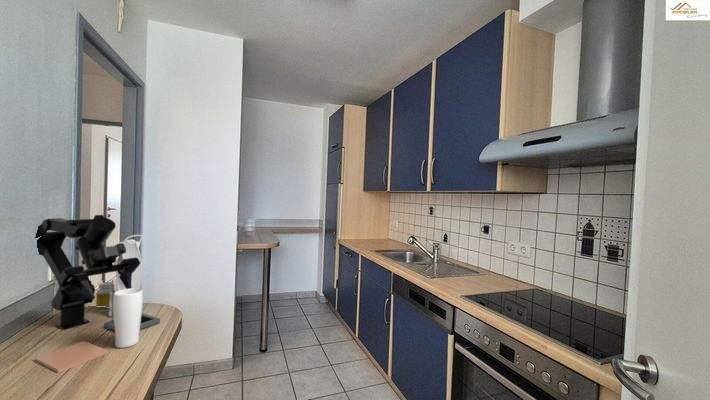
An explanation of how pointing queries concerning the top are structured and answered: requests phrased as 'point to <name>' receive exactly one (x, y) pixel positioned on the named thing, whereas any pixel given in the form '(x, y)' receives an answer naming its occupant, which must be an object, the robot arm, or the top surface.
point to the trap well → (145, 323)
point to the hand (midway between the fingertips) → (112, 294)
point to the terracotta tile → (71, 356)
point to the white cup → (127, 316)
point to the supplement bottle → (103, 296)
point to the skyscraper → (136, 278)
